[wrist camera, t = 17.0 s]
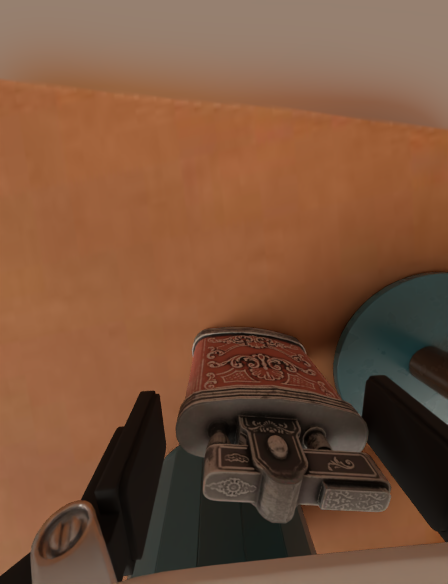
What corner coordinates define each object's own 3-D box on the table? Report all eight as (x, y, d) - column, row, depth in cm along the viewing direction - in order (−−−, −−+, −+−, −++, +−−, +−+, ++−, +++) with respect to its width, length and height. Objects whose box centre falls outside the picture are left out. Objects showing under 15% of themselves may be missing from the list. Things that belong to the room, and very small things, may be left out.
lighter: (191, 365, 17) (157, 541, 7) (195, 322, 16) (163, 451, 6) (297, 374, 17) (405, 549, 7) (306, 332, 16) (437, 467, 7)
